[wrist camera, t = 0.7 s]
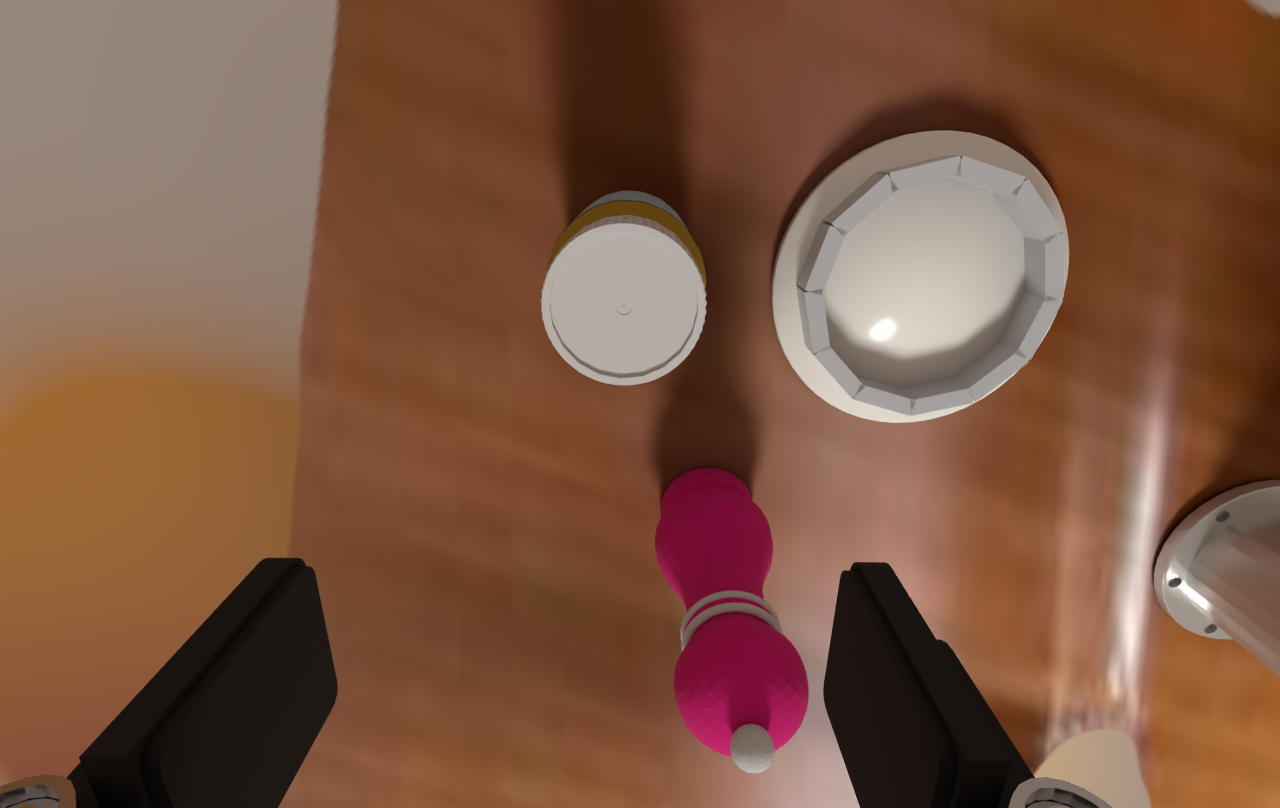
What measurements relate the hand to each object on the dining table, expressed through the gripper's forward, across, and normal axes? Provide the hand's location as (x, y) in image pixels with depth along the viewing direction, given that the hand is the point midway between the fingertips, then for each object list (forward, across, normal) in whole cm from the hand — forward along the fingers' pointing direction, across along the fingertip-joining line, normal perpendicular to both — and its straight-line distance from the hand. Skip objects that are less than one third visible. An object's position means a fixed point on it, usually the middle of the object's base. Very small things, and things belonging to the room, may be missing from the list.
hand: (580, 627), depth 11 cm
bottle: (+29, -1, -3) cm, 29 cm away
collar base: (+29, -18, -1) cm, 34 cm away
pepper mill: (+29, -6, +14) cm, 33 cm away
